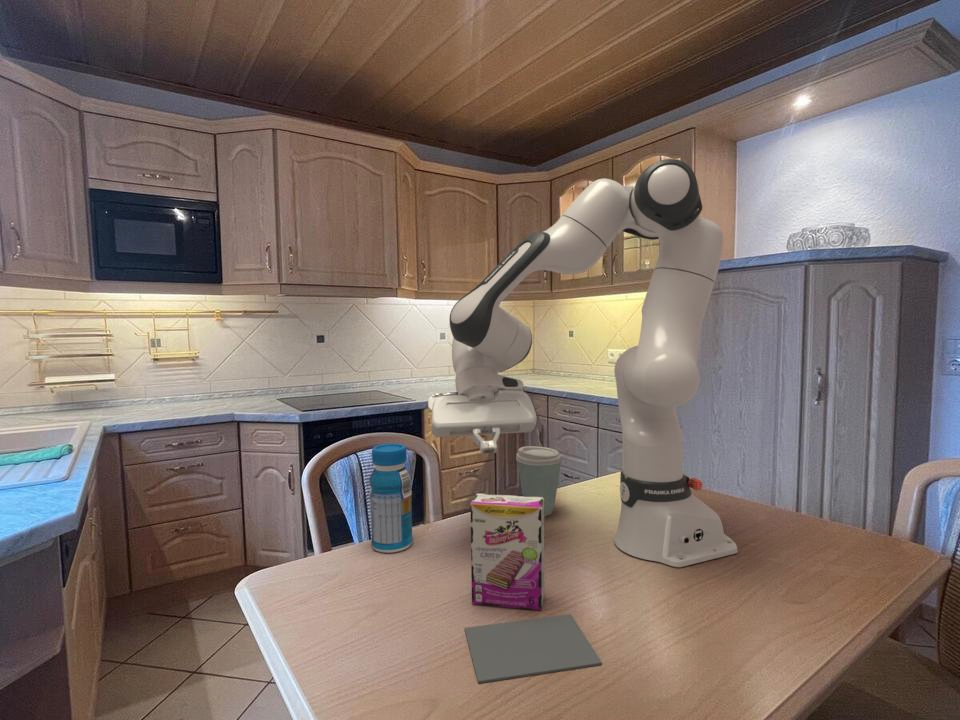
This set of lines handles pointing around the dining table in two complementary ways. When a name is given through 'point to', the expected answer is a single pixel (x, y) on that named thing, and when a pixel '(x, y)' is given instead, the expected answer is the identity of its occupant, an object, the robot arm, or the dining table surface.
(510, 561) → the candy bar box
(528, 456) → the disposable coffee cup
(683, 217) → the robot arm
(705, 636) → the dining table surface
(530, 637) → the mat
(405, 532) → the beverage bottle
